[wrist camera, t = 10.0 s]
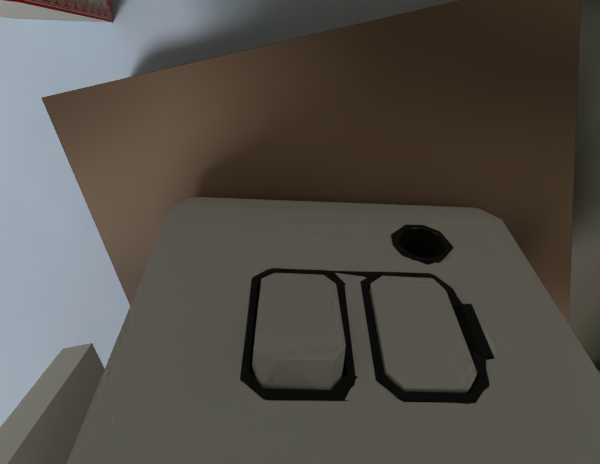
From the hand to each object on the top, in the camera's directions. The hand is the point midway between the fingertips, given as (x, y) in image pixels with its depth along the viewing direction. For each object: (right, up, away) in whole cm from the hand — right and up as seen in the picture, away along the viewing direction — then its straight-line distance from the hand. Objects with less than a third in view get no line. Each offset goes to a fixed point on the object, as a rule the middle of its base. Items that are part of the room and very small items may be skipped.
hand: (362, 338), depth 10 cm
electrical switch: (0, +1, +3) cm, 3 cm away
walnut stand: (0, +3, +9) cm, 9 cm away
